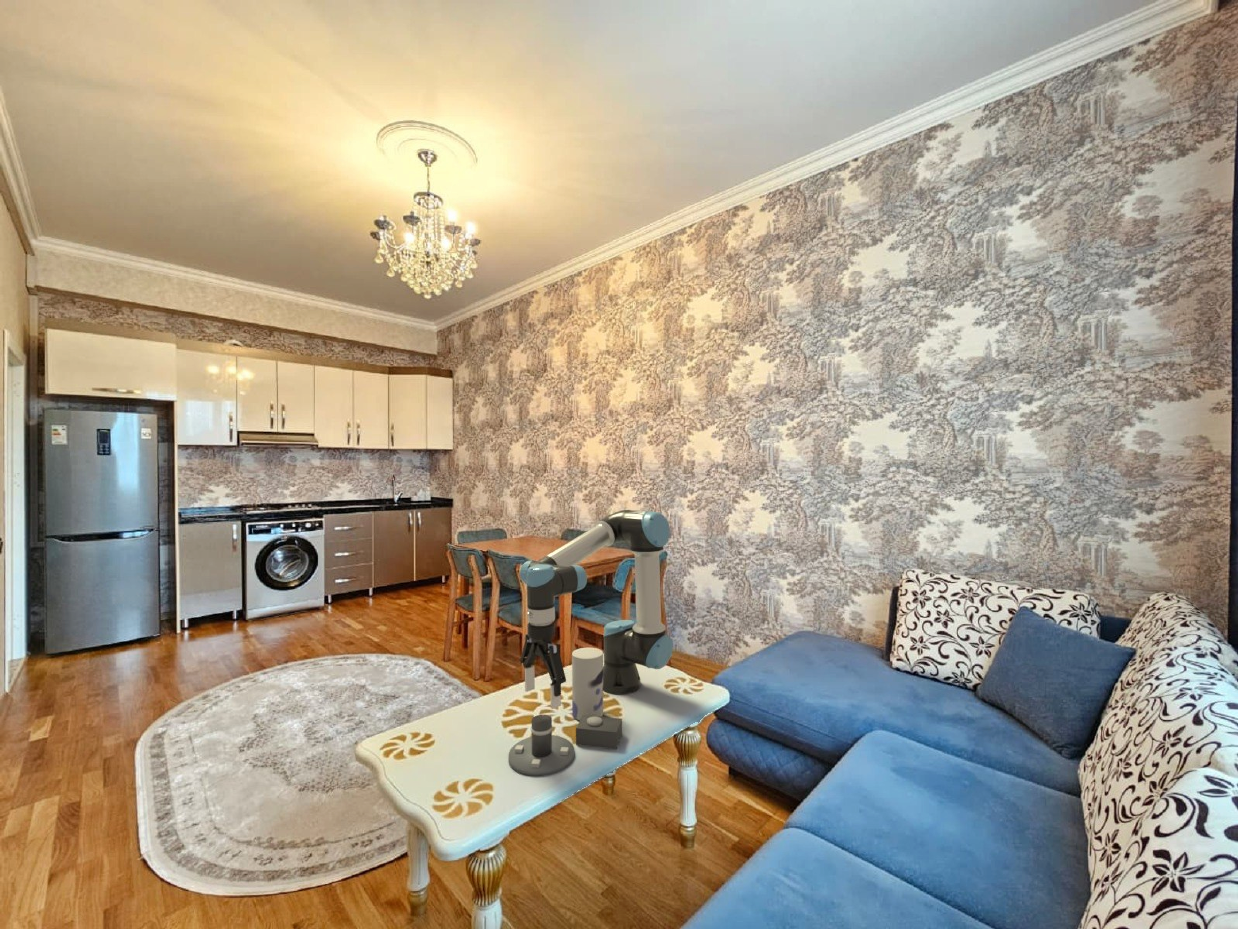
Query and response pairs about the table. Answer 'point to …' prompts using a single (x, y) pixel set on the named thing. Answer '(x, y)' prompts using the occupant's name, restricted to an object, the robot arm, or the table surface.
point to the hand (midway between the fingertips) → (542, 698)
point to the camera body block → (599, 731)
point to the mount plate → (536, 766)
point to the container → (587, 682)
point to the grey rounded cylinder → (541, 736)
